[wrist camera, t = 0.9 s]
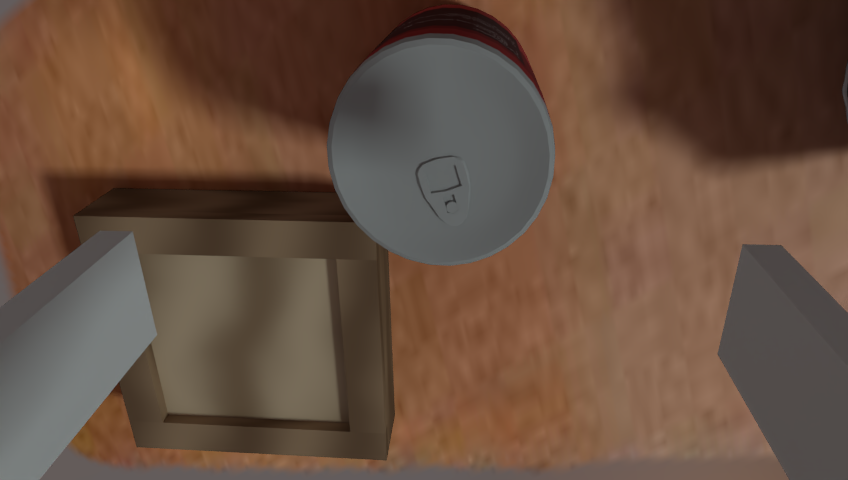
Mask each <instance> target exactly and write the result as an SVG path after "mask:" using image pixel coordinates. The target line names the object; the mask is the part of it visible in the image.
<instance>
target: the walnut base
mask: <svg viewBox="0 0 848 480" xmlns="http://www.w3.org/2000/svg"><path fill="white" fill-rule="evenodd" d="M73 217H74V221H75V224H76V228H77V232H78V235H79V239H80V243H81V245H82V244H83V243H85V242H86V241H87V240H88V239H90V238H91V237H92V236H94V235H95V234H96V233H98V232H99V231H133V235H134V239H135V243H136V247H137V252H138V256H139V260H140V264H141V269H142V273H143V277H144V281H145V286H146V290H147V294H148V298H149V302H150V307H151V311H152V315H153V319H154V324H155V328H156V332H157V336H156V337H155V338H154V339H153V341H152V342H151V343H150V344H149V345H148V347H147V348H146V349H145V350H144V352H143V353H142V354H141V355H140V357H139V358H138V359H137V360H136V361H135V363H134V364H133V365H132V366H131V368H130V369H129V370H128V371H127V373H126V374H125V375H124V376H123V377H122V379H121V380H120V381H119V384H120V388H121V391H122V395H123V399H124V402H125V406H126V409H127V413H128V417H129V420H130V424H131V428H132V431H133V435H134V438H135V442H136V446H137V447H146V448H165V449H184V450H203V451H222V452H240V453H259V454H278V455H297V456H316V457H335V458H354V459H373V460H387V455H388V450H389V444H390V439H391V433H392V427H393V422H394V416H395V410H394V385H393V361H392V336H391V311H390V287H389V262H388V250H387V249H385V248H384V247H382V246H381V245H379V244H378V243H376V242H375V241H373V240H372V239H371V238H370V237H369V236H368V235H367V234H366V233H365V232H364V231H363V230H361V229H360V228H359V227H358V226H357V225H356V223H355V222H354V221H353V219H352V218H351V217H350V215H349V214H348V212H347V211H346V210H345V208H344V207H343V205H342V203H341V200H340V198H339V196H338V194H337V193H331V192H280V191H229V190H177V189H126V188H113V189H112V190H110V191H109V192H107V193H106V194H105V195H103V196H102V197H100V198H99V199H97V200H96V201H94V202H93V203H91V204H90V205H88V206H87V207H86V208H84V209H83V210H81V211H80V212H78V213H77V214H75V215H74V216H73Z"/></svg>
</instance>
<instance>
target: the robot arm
mask: <svg viewBox="0 0 848 480" xmlns="http://www.w3.org/2000/svg"><path fill="white" fill-rule="evenodd" d="M156 336H157V332H156V328H155V324H154V319H153V315H152V311H151V307H150V302H149V298H148V294H147V290H146V286H145V281H144V277H143V273H142V269H141V264H140V260H139V256H138V252H137V247H136V243H135V239H134V235H133V231H99V232H98V233H96V234H95V235H94V236H92V237H91V238H90V239H88V240H87V241H86V242H85V243H83V244H82V245H81V246H79V247H78V248H77V249H75V250H74V251H73V252H72V253H70V254H69V255H68V256H66V257H65V258H64V259H62V260H61V261H60V262H59V263H57V264H56V265H55V266H53V267H52V268H51V269H49V270H48V271H47V272H46V273H44V274H43V275H42V276H40V277H39V278H38V279H37V280H35V281H34V282H33V283H31V284H30V285H29V286H27V287H26V288H25V289H24V290H22V291H21V292H20V293H18V294H17V295H16V296H14V297H13V298H12V299H11V300H9V301H8V302H7V303H5V304H4V305H3V306H2V307H0V480H40V478H41V477H42V476H43V475H44V473H45V472H46V471H47V470H48V468H49V467H50V466H51V465H52V464H53V462H54V461H55V460H56V459H57V457H58V456H59V455H60V454H61V452H62V451H63V450H64V449H65V448H66V446H67V445H68V444H69V443H70V441H71V440H72V439H73V438H74V437H75V435H76V434H77V433H78V432H79V430H80V429H81V428H82V427H83V425H84V424H85V423H86V422H87V421H88V419H89V418H90V417H91V416H92V414H93V413H94V412H95V411H96V409H97V408H98V407H99V406H100V405H101V403H102V402H103V401H104V400H105V398H106V397H107V396H108V395H109V393H110V392H111V391H112V390H113V389H114V387H115V386H116V385H117V384H118V382H119V381H120V380H121V379H122V377H123V376H124V375H125V374H126V373H127V371H128V370H129V369H130V368H131V366H132V365H133V364H134V363H135V361H136V360H137V359H138V358H139V357H140V355H141V354H142V353H143V352H144V350H145V349H146V348H147V347H148V345H149V344H150V343H151V342H152V341H153V339H154V338H155V337H156ZM718 356H719V357H720V359H721V361H722V363H723V364H724V366H725V368H726V370H727V371H728V373H729V375H730V377H731V378H732V380H733V382H734V384H735V385H736V387H737V389H738V391H739V392H740V394H741V396H742V398H743V399H744V401H745V403H746V405H747V406H748V408H749V410H750V412H751V413H752V415H753V417H754V419H755V420H756V422H757V424H758V426H759V427H760V429H761V431H762V433H763V434H764V436H765V438H766V440H767V441H768V443H769V445H770V447H771V448H772V450H773V452H774V454H775V455H776V457H777V459H778V461H779V462H780V464H781V466H782V467H783V469H784V471H785V473H786V475H787V476H788V478H789V480H848V313H847V312H846V311H845V310H844V309H843V308H842V307H841V306H840V305H839V304H838V303H837V302H836V301H835V299H834V298H833V297H832V296H831V295H830V294H829V293H828V292H827V291H826V290H825V289H824V288H823V287H822V286H821V285H820V284H819V283H818V282H817V281H816V280H815V279H814V278H813V277H812V276H811V275H810V274H809V273H808V272H807V271H806V270H805V269H804V268H803V267H802V266H801V265H800V264H799V263H798V262H797V261H796V260H795V259H794V258H793V257H792V256H791V255H790V254H789V253H788V252H787V251H786V250H785V249H784V248H783V246H782V245H747V244H743V245H742V250H741V254H740V258H739V263H738V267H737V272H736V276H735V280H734V285H733V289H732V294H731V298H730V302H729V307H728V311H727V316H726V320H725V324H724V329H723V333H722V338H721V342H720V346H719V351H718Z"/></svg>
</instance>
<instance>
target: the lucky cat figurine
mask: <svg viewBox="0 0 848 480" xmlns="http://www.w3.org/2000/svg"><path fill="white" fill-rule="evenodd" d="M842 94H843V98H844V103H845V108H846V117H847V123H848V61H847V65H846V72H845V79H844V83H843V87H842Z"/></svg>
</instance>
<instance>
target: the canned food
mask: <svg viewBox="0 0 848 480" xmlns="http://www.w3.org/2000/svg"><path fill="white" fill-rule="evenodd" d="M327 152H328V164H329V170H330V174H331V177H332V181H333V184H334V188H335V190H336V192H337V194H338V196H339V198H340V200H341V203H342V205H343V207H344V208H345V210H346V211H347V212H348V214H349V215H350V217H351V218H352V219H353V221H354V222H355V223H356V225H357V226H358V227H359V228H360V229H361V230H363V231H364V232H365V233H366V234H367V235H368V236H369V237H370V238H371V239H372V240H373V241H375V242H376V243H378V244H379V245H381V246H382V247H384V248H385V249H387V250H389V251H390V252H392V253H395V254H397V255H399V256H402V257H404V258H406V259H409V260H413V261H417V262H421V263H425V264H430V265H449V266H450V265H458V264H465V263H471V262H474V261H478V260H481V259H484V258H487V257H490V256H492V255H493V254H495V253H497V252H499V251H501V250H502V249H504V248H506V247H508V246H509V245H510V244H511V243H513V242H514V241H515V240H516V239H517V238H519V237H520V236H521V235H522V234H523V233H524V232H525V231H526V230H527V229H528V227H529V226H530V225H531V224H532V222H533V221H534V220H535V219H536V217H537V216H538V214H539V212H540V210H541V208H542V206H543V204H544V203H545V201H546V199H547V196H548V193H549V189H550V186H551V182H552V179H553V172H554V160H555V143H554V135H553V126H552V123H551V120H550V116H549V113H548V110H547V107H546V104H545V101H544V98H543V95H542V93H541V90H540V88H539V85H538V83H537V80H536V78H535V75H534V73H533V71H532V68H531V66H530V63H529V61H528V58H527V56H526V54H525V52H524V50H523V48H522V47H521V45H520V43H519V41H518V40H517V39H516V37H515V36H514V35H513V34H512V33H511V31H510V30H509V29H508V28H507V27H506V26H505V25H503V24H502V23H501V22H500V21H498V20H497V19H496V18H494V17H493V16H491V15H489V14H487V13H485V12H483V11H481V10H479V9H476V8H472V7H468V6H464V5H440V6H434V7H429V8H426V9H424V10H422V11H420V12H417V13H415V14H413V15H411V16H410V17H409V18H407V19H406V20H404V21H403V22H402V23H400V24H399V25H398V26H397V27H396V28H395V29H394V30H393V31H392V32H391V33H390V34H389V35H388V36H387V37H386V38H385V39H384V40H383V41H382V42H381V43H380V44H379V45H378V46H377V47H376V48H375V49H374V50H373V51H372V52H371V53H370V54H369V56H368V57H367V58H366V59H365V60H364V61H363V62H362V63H361V64H360V65H359V67H358V68H357V69H356V70H355V71H354V73H353V74H352V75H351V76H350V77H349V79H348V81H347V83H346V84H345V86H344V88H343V90H342V91H341V93H340V95H339V96H338V99H337V102H336V105H335V108H334V111H333V114H332V117H331V120H330V123H329V132H328V141H327Z"/></svg>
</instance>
